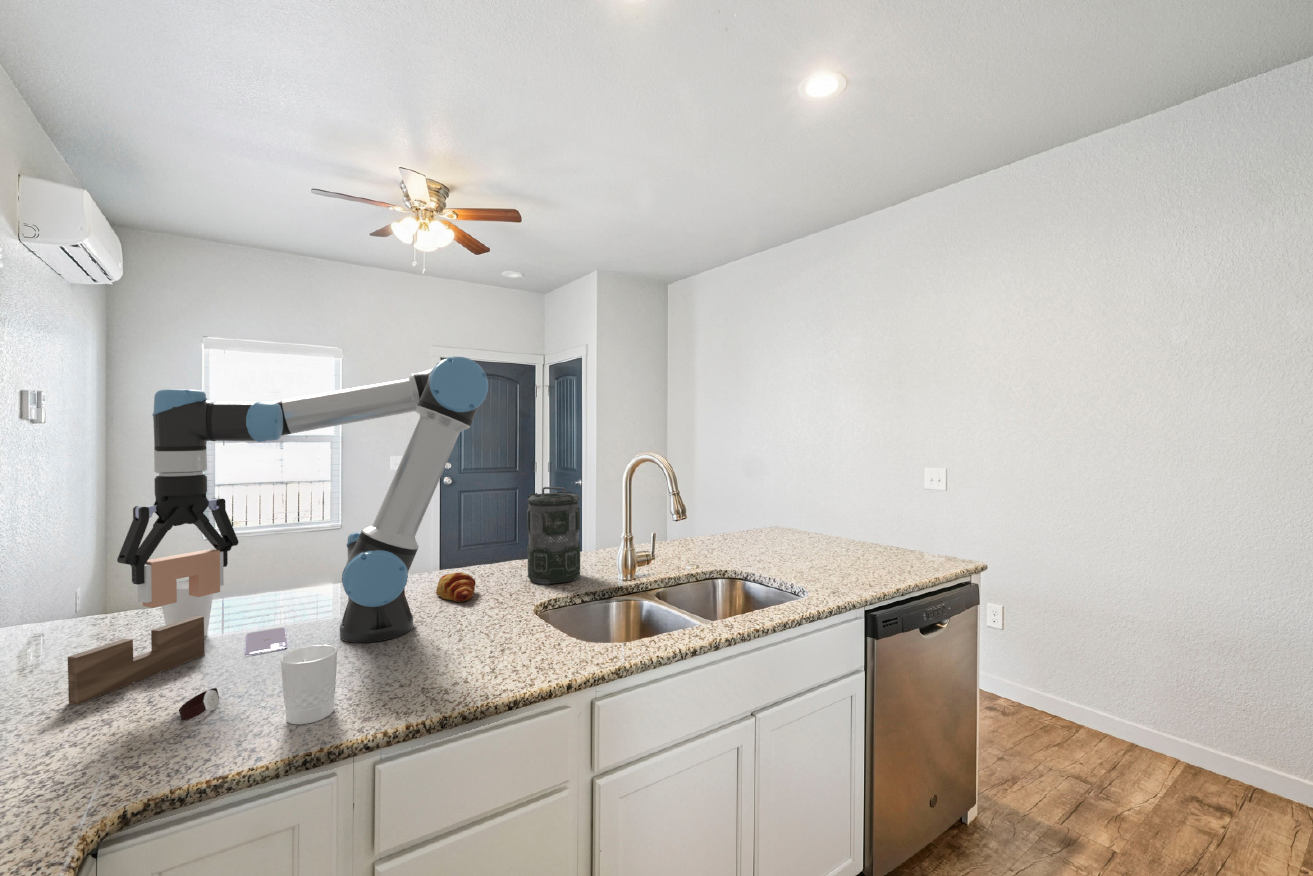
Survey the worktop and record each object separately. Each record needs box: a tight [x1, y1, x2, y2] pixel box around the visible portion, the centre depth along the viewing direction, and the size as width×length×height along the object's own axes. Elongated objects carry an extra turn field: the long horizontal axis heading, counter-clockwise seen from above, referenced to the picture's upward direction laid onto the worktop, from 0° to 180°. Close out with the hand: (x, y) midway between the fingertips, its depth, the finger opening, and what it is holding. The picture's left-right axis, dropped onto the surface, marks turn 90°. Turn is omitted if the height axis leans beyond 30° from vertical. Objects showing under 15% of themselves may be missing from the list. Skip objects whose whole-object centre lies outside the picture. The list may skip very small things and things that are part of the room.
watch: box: [178, 687, 220, 721], centre depth 97 cm, size 8×5×4 cm, turn 13°
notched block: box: [142, 548, 221, 609], centre depth 109 cm, size 11×3×8 cm, turn 157°
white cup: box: [280, 644, 338, 725], centre depth 96 cm, size 8×8×10 cm
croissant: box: [435, 571, 477, 603], centre depth 163 cm, size 21×10×8 cm, turn 34°
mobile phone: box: [244, 627, 289, 656], centre depth 128 cm, size 8×1×15 cm
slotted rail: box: [67, 616, 206, 706], centre depth 110 cm, size 2×22×8 cm, turn 167°
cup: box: [161, 579, 214, 638], centre depth 131 cm, size 9×9×12 cm
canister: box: [526, 486, 581, 586], centre depth 180 cm, size 16×16×28 cm
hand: (182, 593), depth 109 cm, fingers closed on notched block, 11 cm apart
